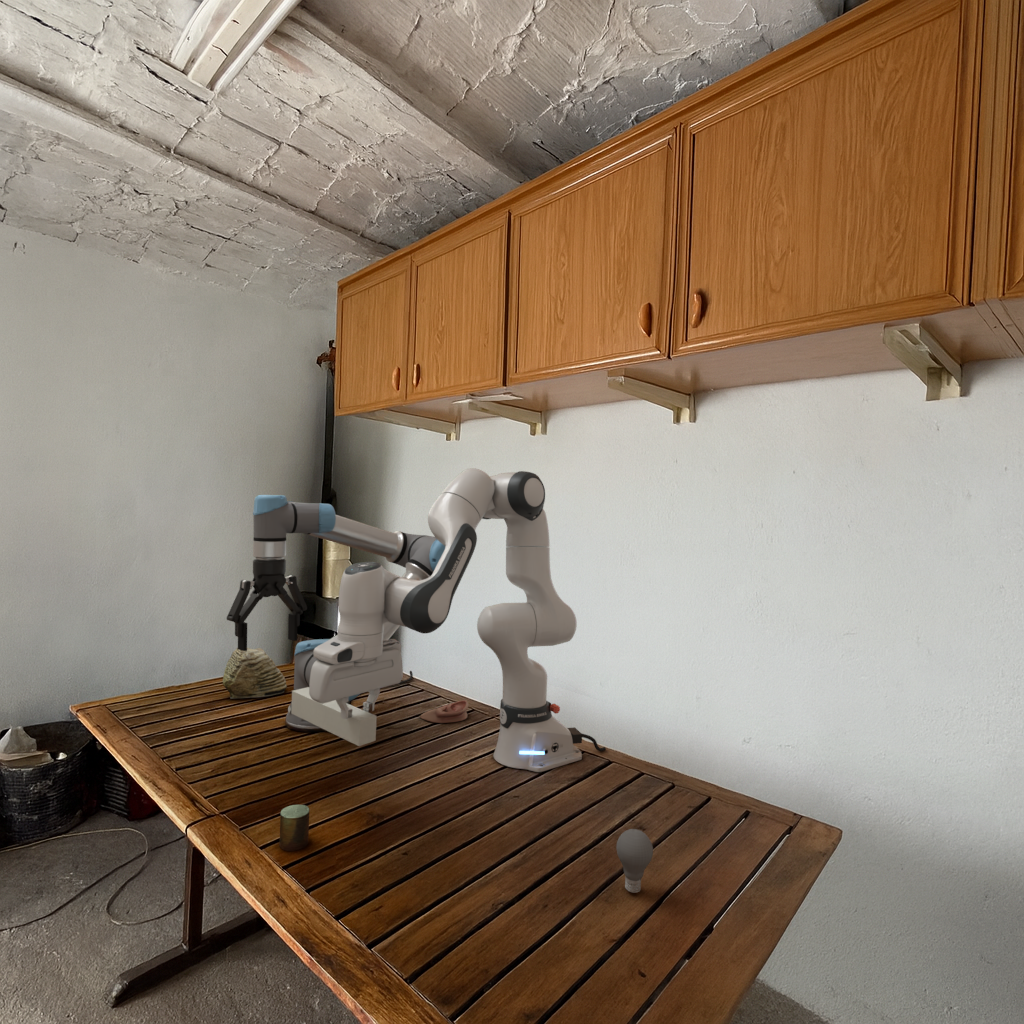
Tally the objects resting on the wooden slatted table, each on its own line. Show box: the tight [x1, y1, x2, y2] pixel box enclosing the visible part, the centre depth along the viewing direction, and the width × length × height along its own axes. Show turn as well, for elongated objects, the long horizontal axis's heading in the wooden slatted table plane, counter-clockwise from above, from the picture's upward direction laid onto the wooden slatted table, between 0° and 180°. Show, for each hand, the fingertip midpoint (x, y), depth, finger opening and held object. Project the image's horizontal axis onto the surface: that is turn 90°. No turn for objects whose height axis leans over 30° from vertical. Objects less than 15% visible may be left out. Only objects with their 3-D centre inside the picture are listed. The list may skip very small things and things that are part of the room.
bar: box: [291, 687, 378, 747], centre depth 131 cm, size 4×24×5 cm, turn 50°
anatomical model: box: [419, 699, 469, 724], centre depth 185 cm, size 13×4×12 cm
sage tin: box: [278, 804, 310, 852], centre depth 116 cm, size 5×5×6 cm
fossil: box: [222, 647, 288, 699], centre depth 198 cm, size 9×18×15 cm, turn 132°
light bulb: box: [615, 828, 654, 894], centre depth 106 cm, size 6×6×10 cm
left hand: (268, 644), depth 155 cm, fingers open, 13 cm apart
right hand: (357, 714), depth 125 cm, fingers closed on bar, 4 cm apart
